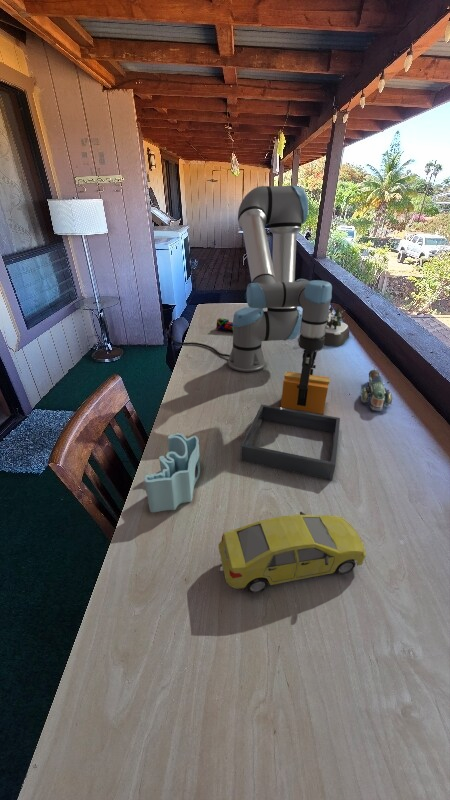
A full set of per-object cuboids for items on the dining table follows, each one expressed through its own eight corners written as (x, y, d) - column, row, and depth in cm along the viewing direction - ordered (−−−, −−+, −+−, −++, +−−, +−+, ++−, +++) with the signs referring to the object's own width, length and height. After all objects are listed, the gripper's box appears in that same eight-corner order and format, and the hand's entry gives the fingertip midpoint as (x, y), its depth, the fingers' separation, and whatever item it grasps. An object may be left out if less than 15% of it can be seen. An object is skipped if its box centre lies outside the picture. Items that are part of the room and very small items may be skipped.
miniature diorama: (351, 335, 176) (358, 301, 168) (339, 348, 162) (346, 311, 153) (313, 327, 186) (318, 295, 177) (299, 339, 171) (303, 304, 162)
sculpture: (273, 329, 171) (216, 320, 179) (272, 339, 173) (215, 329, 181) (276, 326, 179) (221, 317, 186) (275, 335, 181) (220, 326, 188)
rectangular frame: (241, 460, 95) (241, 445, 92) (260, 417, 113) (261, 404, 110) (332, 480, 88) (335, 465, 86) (337, 431, 106) (340, 417, 104)
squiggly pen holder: (190, 515, 79) (188, 484, 74) (148, 511, 80) (142, 481, 75) (202, 462, 94) (201, 434, 90) (166, 459, 95) (163, 432, 90)
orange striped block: (280, 407, 118) (282, 378, 112) (284, 396, 124) (286, 369, 119) (323, 414, 114) (328, 385, 108) (325, 403, 120) (330, 375, 115)
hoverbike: (360, 410, 116) (365, 389, 112) (358, 377, 136) (362, 358, 132) (391, 415, 114) (398, 393, 109) (384, 380, 134) (390, 361, 130)
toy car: (372, 576, 66) (385, 542, 61) (229, 608, 61) (229, 574, 56) (341, 525, 76) (350, 492, 71) (216, 549, 71) (215, 516, 66)
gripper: (321, 351, 95) (311, 416, 106) (328, 323, 115) (319, 379, 126) (293, 348, 97) (286, 412, 108) (305, 320, 117) (298, 376, 128)
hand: (304, 395), depth 117 cm, fingers open, 13 cm apart
